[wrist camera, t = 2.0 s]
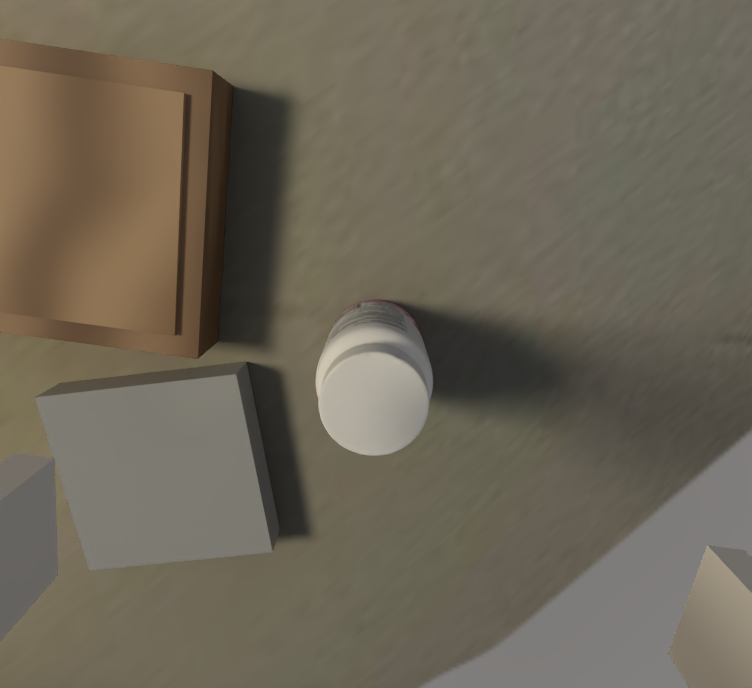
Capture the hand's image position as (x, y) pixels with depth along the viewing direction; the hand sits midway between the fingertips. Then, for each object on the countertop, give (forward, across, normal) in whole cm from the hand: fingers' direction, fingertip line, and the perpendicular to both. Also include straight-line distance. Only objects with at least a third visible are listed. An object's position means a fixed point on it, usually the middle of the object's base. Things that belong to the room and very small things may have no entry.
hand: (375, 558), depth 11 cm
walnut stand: (+16, -14, +5) cm, 22 cm away
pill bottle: (+17, 0, 0) cm, 17 cm away
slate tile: (+16, -10, -8) cm, 21 cm away
